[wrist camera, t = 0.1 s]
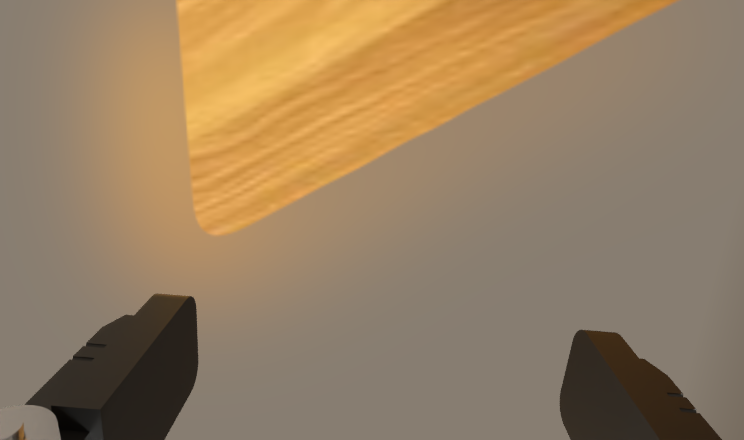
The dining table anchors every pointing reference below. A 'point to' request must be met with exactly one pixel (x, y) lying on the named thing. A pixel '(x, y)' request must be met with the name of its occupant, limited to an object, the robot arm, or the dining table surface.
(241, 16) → the dining table surface
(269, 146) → the dining table surface
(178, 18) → the dining table surface
